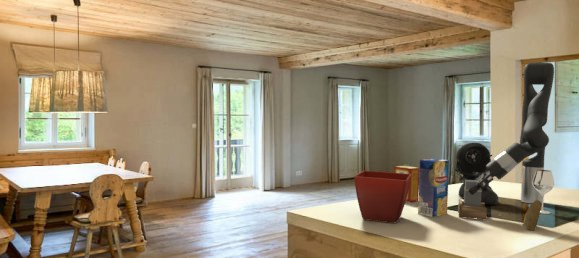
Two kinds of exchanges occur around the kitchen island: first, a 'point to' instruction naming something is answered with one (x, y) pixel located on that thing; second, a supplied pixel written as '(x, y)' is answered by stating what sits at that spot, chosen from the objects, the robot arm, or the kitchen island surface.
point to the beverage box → (433, 187)
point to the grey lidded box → (472, 199)
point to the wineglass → (543, 184)
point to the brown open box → (472, 211)
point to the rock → (532, 215)
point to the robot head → (474, 169)
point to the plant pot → (381, 195)
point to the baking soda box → (414, 181)
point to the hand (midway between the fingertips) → (469, 191)
